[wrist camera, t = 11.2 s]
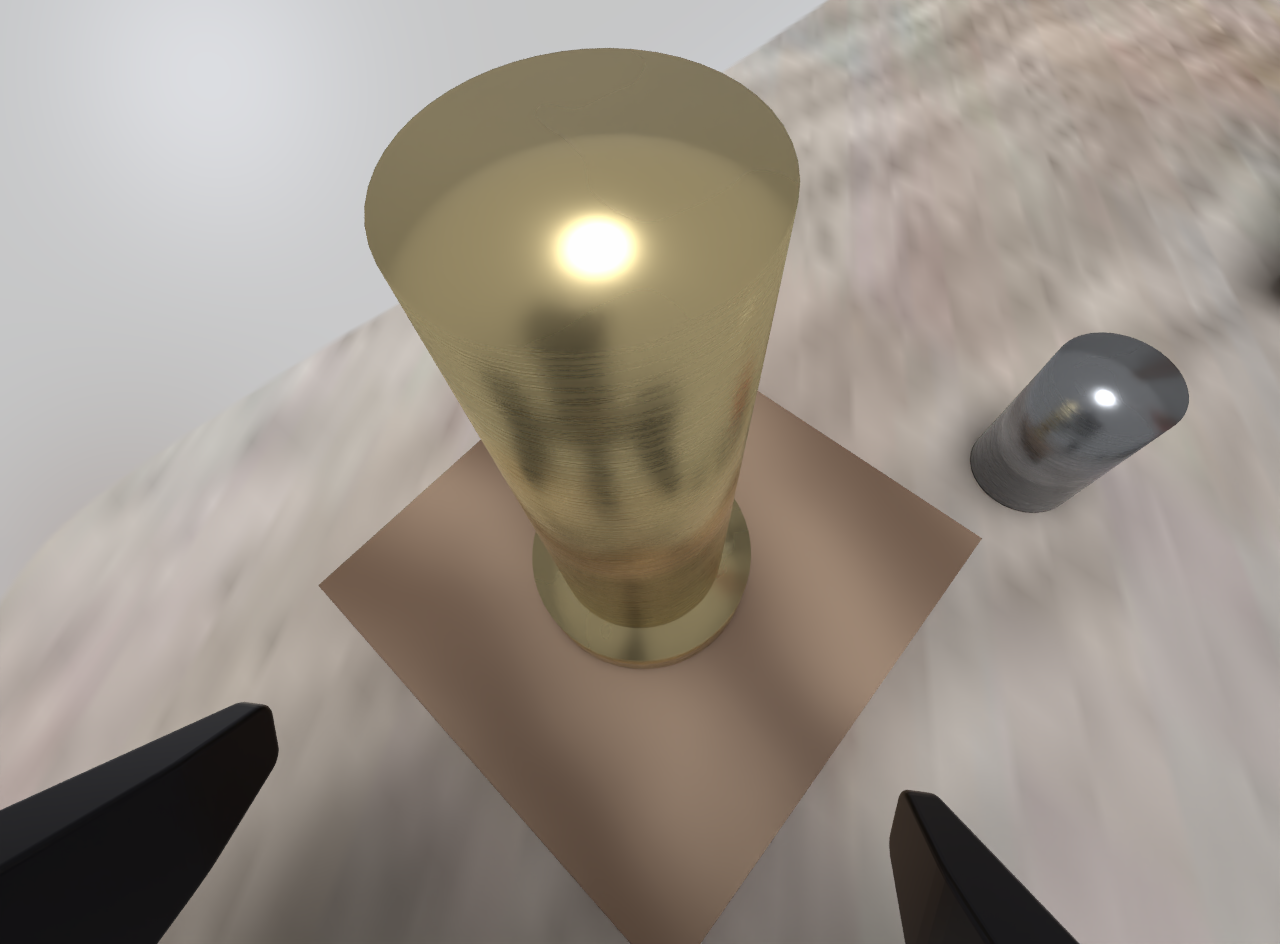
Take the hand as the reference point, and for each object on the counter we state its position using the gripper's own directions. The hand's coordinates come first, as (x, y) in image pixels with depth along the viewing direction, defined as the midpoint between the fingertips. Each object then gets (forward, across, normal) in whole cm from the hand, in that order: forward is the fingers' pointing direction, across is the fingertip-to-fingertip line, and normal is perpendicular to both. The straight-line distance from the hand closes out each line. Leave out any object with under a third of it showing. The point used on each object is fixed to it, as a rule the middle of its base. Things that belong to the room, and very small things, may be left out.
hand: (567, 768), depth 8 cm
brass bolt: (+9, 0, +2) cm, 10 cm away
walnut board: (+10, 0, +3) cm, 11 cm away
